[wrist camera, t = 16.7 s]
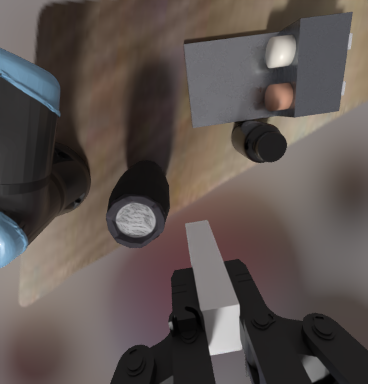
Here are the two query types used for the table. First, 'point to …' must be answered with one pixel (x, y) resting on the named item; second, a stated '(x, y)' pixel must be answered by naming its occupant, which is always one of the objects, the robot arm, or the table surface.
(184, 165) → the table surface
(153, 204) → the portable speaker
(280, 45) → the knob cream
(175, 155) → the table surface
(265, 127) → the supplement bottle
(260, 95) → the mount
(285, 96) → the knob terracotta
